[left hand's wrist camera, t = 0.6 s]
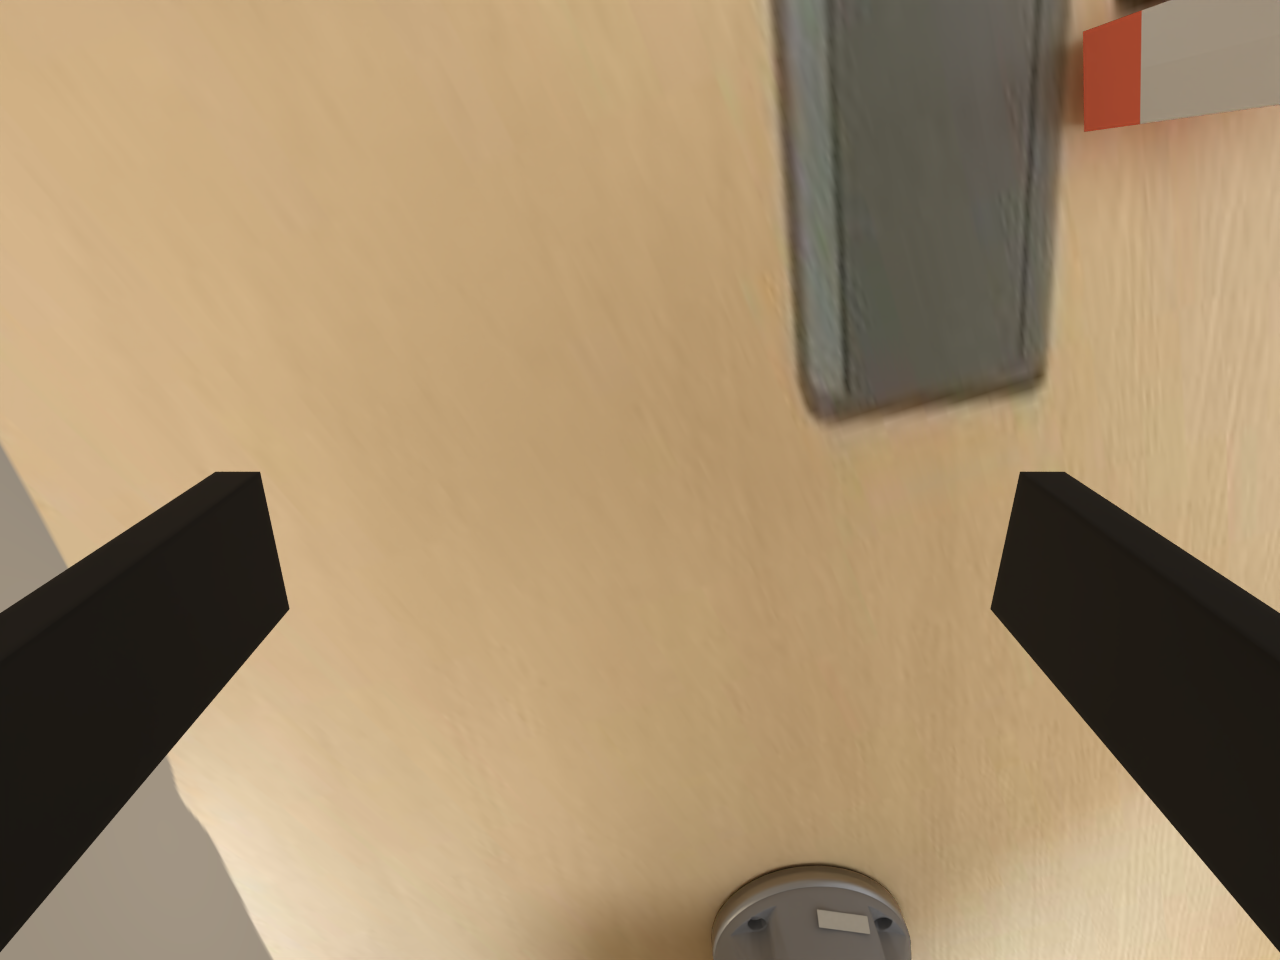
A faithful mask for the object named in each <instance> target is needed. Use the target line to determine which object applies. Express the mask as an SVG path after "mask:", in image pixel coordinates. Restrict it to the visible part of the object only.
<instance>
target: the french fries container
mask: <svg viewBox="0 0 1280 960" xmlns="http://www.w3.org/2000/svg"><path fill="white" fill-rule="evenodd" d="M1083 63H1084V132H1086V131H1093V130H1100V129H1107V128H1115V127H1122V126H1129V125H1136V124H1144V123H1151V122H1158V121H1165V120H1173V119H1180V118H1187V117H1194V116H1201V115H1209V114H1216V113H1223V112H1230V111H1238V110H1245V109H1252V108H1259V107H1267V106H1274V105H1280V0H1170V1H1167V2H1164V3H1161V4H1159V5H1156V6H1153V7H1150V8H1147V9H1144V10H1142V11H1139V12H1136V13H1133V14H1131V15H1128V16H1125V17H1122V18H1120V19H1117V20H1114V21H1111V22H1109V23H1106V24H1103V25H1100V26H1098V27H1095V28H1092V29H1089V30H1087V31H1084V32H1083Z"/></svg>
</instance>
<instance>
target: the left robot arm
mask: <svg viewBox="0 0 1280 960" xmlns="http://www.w3.org/2000/svg"><path fill="white" fill-rule="evenodd" d="M288 610H289V605H288V600H287V595H286V591H285V586H284V581H283V577H282V572H281V567H280V563H279V558H278V553H277V549H276V544H275V540H274V535H273V530H272V526H271V521H270V516H269V512H268V507H267V502H266V498H265V493H264V488H263V484H262V479H261V474H260V472H215V473H213V474H212V475H210V476H208V477H207V478H205V479H204V480H202V481H201V482H199V483H198V484H196V485H195V486H193V487H192V488H190V489H189V490H187V491H186V492H184V493H183V494H181V495H180V496H178V497H177V498H175V499H173V500H172V501H170V502H169V503H167V504H166V505H164V506H163V507H161V508H160V509H158V510H157V511H155V512H154V513H152V514H151V515H149V516H148V517H146V518H145V519H143V520H141V521H140V522H138V523H137V524H135V525H134V526H132V527H131V528H129V529H128V530H126V531H125V532H123V533H122V534H120V535H119V536H117V537H116V538H114V539H113V540H111V541H110V542H108V543H106V544H105V545H103V546H102V547H100V548H99V549H97V550H96V551H94V552H93V553H91V554H90V555H88V556H87V557H85V558H84V559H82V560H81V561H79V562H78V563H76V564H74V565H73V566H71V567H70V568H68V569H67V570H65V571H64V572H62V573H61V574H59V575H58V576H56V577H55V578H53V579H52V580H50V581H49V582H47V583H46V584H44V585H43V586H41V587H39V588H38V589H36V590H35V591H34V592H32V593H30V594H29V595H27V596H26V597H24V598H23V599H21V600H20V601H18V602H17V603H15V604H14V605H12V606H11V607H9V608H8V609H6V610H4V611H3V612H1V613H0V952H1V951H2V949H3V948H4V947H5V946H6V945H7V944H8V942H9V941H10V940H11V939H12V938H13V936H14V935H15V934H16V933H17V932H18V931H19V929H20V928H21V927H22V926H23V925H24V923H25V922H26V921H27V920H28V919H29V917H30V916H31V915H32V914H33V913H34V912H35V910H36V909H37V908H38V907H39V906H40V904H41V903H42V902H43V901H44V900H45V898H46V897H47V896H48V895H49V894H50V893H51V891H52V890H53V889H54V888H55V887H56V885H57V884H58V883H59V882H60V881H61V879H62V878H63V877H64V876H65V875H66V873H67V872H68V871H69V870H70V869H71V868H72V866H73V865H74V864H75V863H76V862H77V861H78V859H79V858H80V857H81V856H82V855H83V853H84V852H85V851H86V850H87V849H88V847H89V846H90V845H91V844H92V843H93V842H94V840H95V839H96V838H97V837H98V836H99V834H100V833H101V832H102V831H103V830H104V828H105V827H106V826H107V825H108V824H109V823H110V821H111V820H112V819H113V818H114V817H115V815H116V814H117V813H118V812H119V811H120V809H121V808H122V807H123V806H124V805H125V804H126V802H127V801H128V800H129V799H130V798H131V796H132V795H133V794H134V793H135V792H136V790H137V789H138V788H139V787H140V786H141V785H142V783H143V782H144V781H145V780H146V779H147V777H148V776H149V775H150V774H151V773H152V771H153V770H154V769H155V768H156V767H157V766H158V764H159V763H160V762H161V761H162V760H163V758H164V757H165V756H166V755H167V754H168V753H169V751H170V750H171V749H172V748H173V747H174V745H175V744H176V743H177V742H178V741H179V739H180V738H181V737H182V736H183V735H184V734H185V732H186V731H187V730H188V729H189V728H190V726H191V725H192V724H193V723H194V722H195V721H196V719H197V718H198V717H199V716H200V715H201V713H202V712H203V711H204V710H205V709H206V707H207V706H208V705H209V704H210V703H211V702H212V700H213V699H214V698H215V697H216V696H217V694H218V693H219V692H220V691H221V690H222V688H223V687H224V686H225V685H226V684H227V683H228V681H229V680H230V679H231V678H232V677H233V675H234V674H235V673H236V672H237V671H238V669H239V668H240V667H241V666H242V665H243V664H244V662H245V661H246V660H247V659H248V658H249V656H250V655H251V654H252V653H253V652H254V651H255V649H256V648H257V647H258V646H259V645H260V643H261V642H262V641H263V640H264V639H265V637H266V636H267V635H268V634H269V633H270V632H271V630H272V629H273V628H274V627H275V626H276V624H277V623H278V622H279V621H280V620H281V618H282V617H283V616H284V615H285V614H286V613H287V611H288ZM991 610H992V611H993V613H994V614H995V615H996V616H997V617H998V618H999V620H1000V621H1001V622H1002V623H1003V624H1004V626H1005V627H1006V628H1007V629H1008V630H1009V632H1010V633H1011V634H1012V635H1013V636H1014V637H1015V639H1016V640H1017V641H1018V642H1019V643H1020V645H1021V646H1022V647H1023V648H1024V649H1025V651H1026V652H1027V653H1028V654H1029V655H1030V656H1031V658H1032V659H1033V660H1034V661H1035V662H1036V664H1037V665H1038V666H1039V667H1040V668H1041V669H1042V671H1043V672H1044V673H1045V674H1046V675H1047V677H1048V678H1049V679H1050V680H1051V681H1052V683H1053V684H1054V685H1055V686H1056V687H1057V688H1058V690H1059V691H1060V692H1061V693H1062V694H1063V696H1064V697H1065V698H1066V699H1067V700H1068V702H1069V703H1070V704H1071V705H1072V706H1073V707H1074V709H1075V710H1076V711H1077V712H1078V713H1079V715H1080V716H1081V717H1082V718H1083V719H1084V721H1085V722H1086V723H1087V724H1088V725H1089V726H1090V728H1091V729H1092V730H1093V731H1094V732H1095V734H1096V735H1097V736H1098V737H1099V738H1100V739H1101V741H1102V742H1103V743H1104V744H1105V745H1106V747H1107V748H1108V749H1109V750H1110V751H1111V753H1112V754H1113V755H1114V756H1115V757H1116V758H1117V760H1118V761H1119V762H1120V763H1121V764H1122V766H1123V767H1124V768H1125V769H1126V770H1127V772H1128V773H1129V774H1130V775H1131V776H1132V777H1133V779H1134V780H1135V781H1136V782H1137V783H1138V785H1139V786H1140V787H1141V788H1142V789H1143V791H1144V792H1145V793H1146V794H1147V795H1148V796H1149V798H1150V799H1151V800H1152V801H1153V802H1154V804H1155V805H1156V806H1157V807H1158V808H1159V809H1160V811H1161V812H1162V813H1163V814H1164V815H1165V817H1166V818H1167V819H1168V820H1169V821H1170V823H1171V824H1172V825H1173V826H1174V827H1175V828H1176V830H1177V831H1178V832H1179V833H1180V834H1181V836H1182V837H1183V838H1184V839H1185V840H1186V842H1187V843H1188V844H1189V845H1190V846H1191V847H1192V849H1193V850H1194V851H1195V852H1196V853H1197V855H1198V856H1199V857H1200V858H1201V859H1202V861H1203V862H1204V863H1205V864H1206V865H1207V866H1208V868H1209V869H1210V870H1211V871H1212V872H1213V874H1214V875H1215V876H1216V877H1217V878H1218V879H1219V881H1220V882H1221V883H1222V884H1223V885H1224V887H1225V888H1226V889H1227V890H1228V891H1229V893H1230V894H1231V895H1232V896H1233V897H1234V898H1235V900H1236V901H1237V902H1238V903H1239V904H1240V906H1241V907H1242V908H1243V909H1244V910H1245V912H1246V913H1247V914H1248V915H1249V916H1250V917H1251V919H1252V920H1253V921H1254V922H1255V923H1256V925H1257V926H1258V927H1259V928H1260V929H1261V931H1262V932H1263V933H1264V934H1265V935H1266V936H1267V938H1268V939H1269V940H1270V941H1271V942H1272V944H1273V945H1274V946H1275V947H1276V948H1277V949H1278V951H1279V952H1280V613H1279V612H1277V611H1276V610H1274V609H1273V608H1271V607H1269V606H1268V605H1266V604H1265V603H1263V602H1262V601H1260V600H1259V599H1257V598H1256V597H1254V596H1253V595H1251V594H1250V593H1248V592H1247V591H1245V590H1244V589H1242V588H1241V587H1239V586H1237V585H1236V584H1234V583H1233V582H1231V581H1230V580H1228V579H1227V578H1225V577H1224V576H1222V575H1221V574H1219V573H1218V572H1216V571H1215V570H1213V569H1212V568H1210V567H1209V566H1207V565H1206V564H1204V563H1202V562H1201V561H1199V560H1198V559H1196V558H1195V557H1193V556H1192V555H1190V554H1189V553H1187V552H1186V551H1184V550H1183V549H1181V548H1180V547H1178V546H1177V545H1175V544H1174V543H1172V542H1170V541H1169V540H1167V539H1166V538H1164V537H1163V536H1161V535H1160V534H1158V533H1157V532H1155V531H1154V530H1152V529H1151V528H1149V527H1148V526H1146V525H1145V524H1143V523H1142V522H1140V521H1139V520H1137V519H1135V518H1134V517H1132V516H1131V515H1129V514H1128V513H1126V512H1125V511H1123V510H1122V509H1120V508H1119V507H1117V506H1116V505H1114V504H1113V503H1111V502H1110V501H1108V500H1107V499H1105V498H1103V497H1102V496H1100V495H1099V494H1097V493H1096V492H1094V491H1093V490H1091V489H1090V488H1088V487H1087V486H1085V485H1084V484H1082V483H1081V482H1079V481H1078V480H1076V479H1075V478H1073V477H1072V476H1070V475H1068V474H1067V473H1065V472H1020V474H1019V479H1018V484H1017V488H1016V493H1015V498H1014V502H1013V507H1012V512H1011V516H1010V521H1009V526H1008V530H1007V535H1006V540H1005V544H1004V549H1003V553H1002V558H1001V563H1000V567H999V572H998V577H997V581H996V586H995V591H994V595H993V600H992V605H991ZM712 951H713V960H911V942H910V936H909V933H908V929H907V927H906V924H905V921H904V918H903V916H902V913H901V910H900V908H899V906H898V904H897V902H896V900H895V899H894V897H893V896H892V895H891V894H890V893H889V892H888V891H887V890H886V889H885V888H884V887H883V886H881V885H880V884H879V883H877V882H876V881H874V880H872V879H871V878H869V877H867V876H865V875H862V874H860V873H857V872H854V871H851V870H847V869H843V868H838V867H830V866H801V867H794V868H788V869H783V870H779V871H776V872H773V873H770V874H767V875H764V876H762V877H760V878H758V879H756V880H754V881H752V882H750V883H748V884H747V885H745V886H743V887H742V888H741V889H739V890H738V891H737V892H735V893H734V894H733V895H732V896H731V897H730V898H729V899H728V900H727V901H726V902H725V903H724V905H723V906H722V908H721V909H720V911H719V912H718V914H717V916H716V918H715V921H714V924H713V928H712Z"/></svg>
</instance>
